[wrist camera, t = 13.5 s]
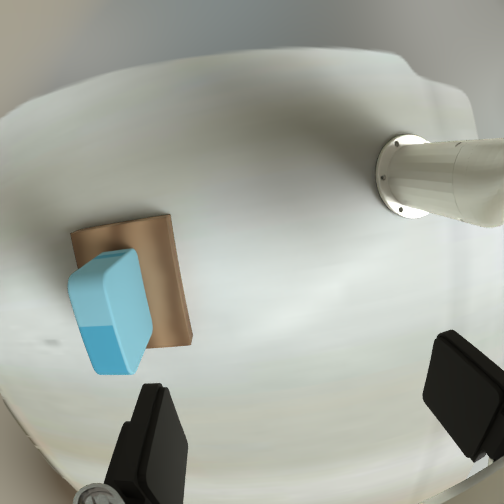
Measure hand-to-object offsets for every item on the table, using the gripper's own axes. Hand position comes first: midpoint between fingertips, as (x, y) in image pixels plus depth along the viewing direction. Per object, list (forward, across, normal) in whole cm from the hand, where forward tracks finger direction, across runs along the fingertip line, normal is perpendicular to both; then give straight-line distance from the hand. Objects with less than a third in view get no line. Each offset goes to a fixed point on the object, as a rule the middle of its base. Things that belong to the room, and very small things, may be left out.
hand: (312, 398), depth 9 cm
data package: (+31, +17, +6) cm, 35 cm away
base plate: (+33, +17, +6) cm, 38 cm away
